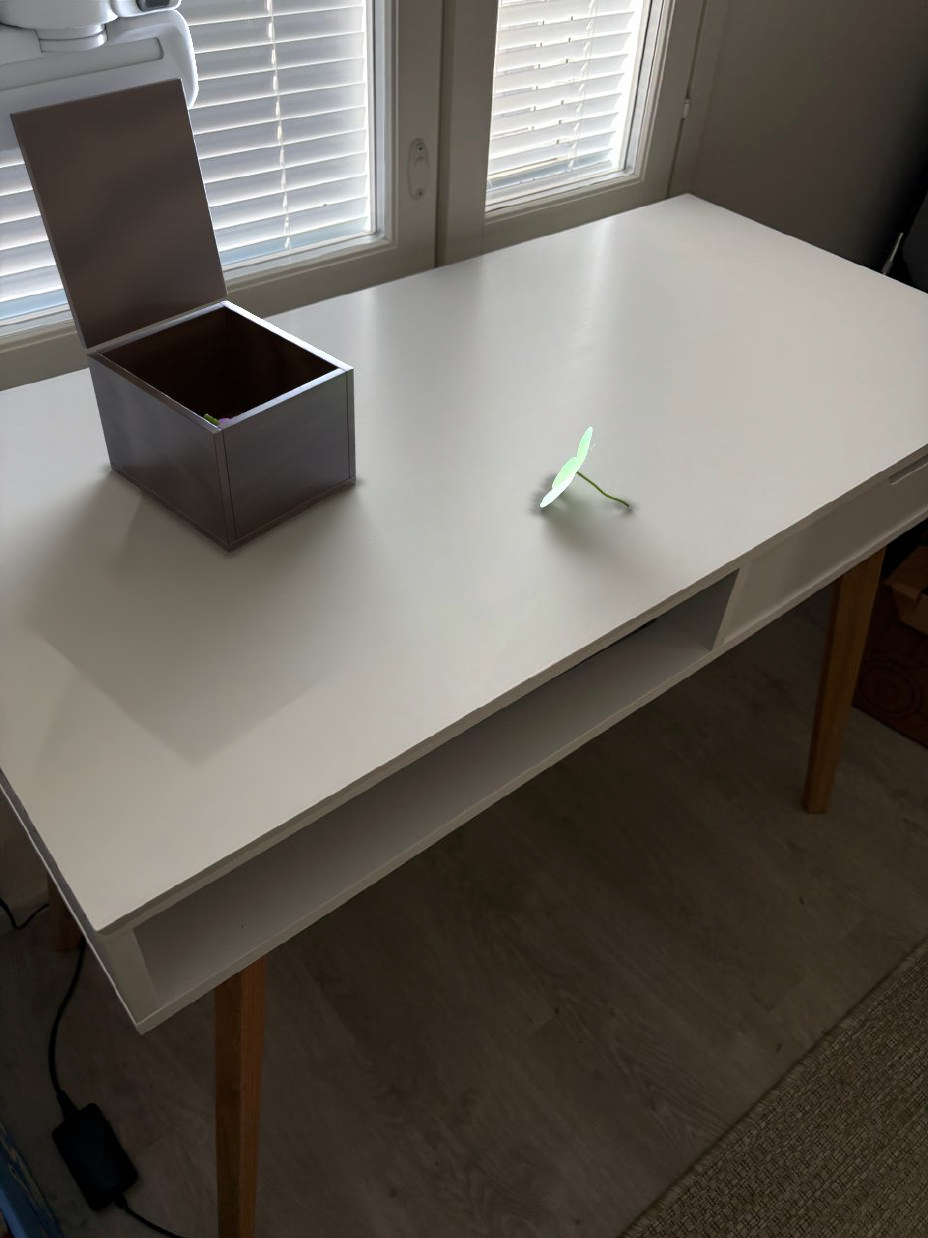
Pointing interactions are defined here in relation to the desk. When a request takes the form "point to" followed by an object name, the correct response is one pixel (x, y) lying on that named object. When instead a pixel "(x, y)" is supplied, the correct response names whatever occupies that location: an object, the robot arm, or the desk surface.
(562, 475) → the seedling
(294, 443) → the case
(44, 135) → the cover
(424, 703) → the desk surface
